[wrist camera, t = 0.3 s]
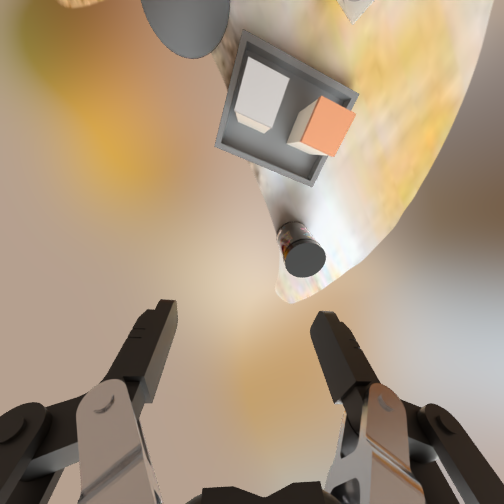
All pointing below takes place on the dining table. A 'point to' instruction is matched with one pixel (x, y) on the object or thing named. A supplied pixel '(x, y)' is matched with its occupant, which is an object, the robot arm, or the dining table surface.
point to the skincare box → (354, 8)
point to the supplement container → (300, 250)
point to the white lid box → (260, 96)
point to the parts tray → (294, 100)
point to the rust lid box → (321, 127)
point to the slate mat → (188, 24)
